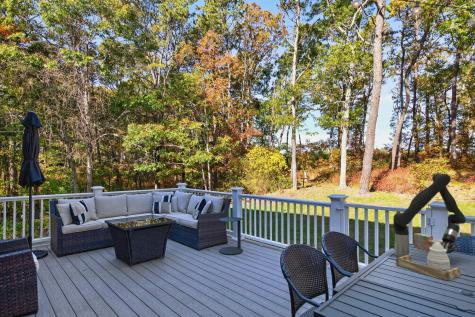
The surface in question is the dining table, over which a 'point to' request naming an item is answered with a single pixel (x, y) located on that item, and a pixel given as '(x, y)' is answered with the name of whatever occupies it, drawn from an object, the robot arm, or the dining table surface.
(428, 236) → the stack of blocks
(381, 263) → the dining table surface
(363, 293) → the dining table surface
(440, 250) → the honey pot
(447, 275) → the oak bay
